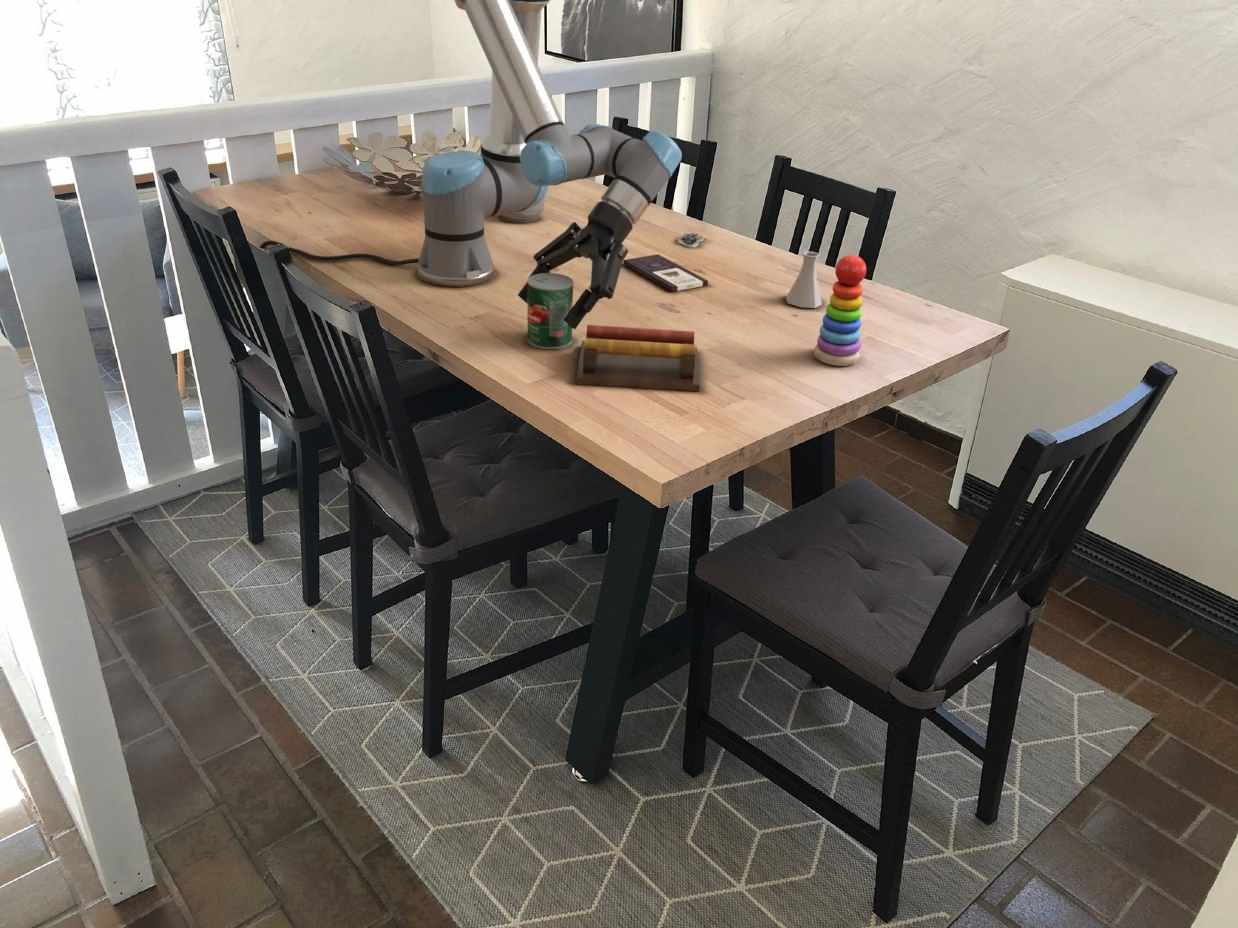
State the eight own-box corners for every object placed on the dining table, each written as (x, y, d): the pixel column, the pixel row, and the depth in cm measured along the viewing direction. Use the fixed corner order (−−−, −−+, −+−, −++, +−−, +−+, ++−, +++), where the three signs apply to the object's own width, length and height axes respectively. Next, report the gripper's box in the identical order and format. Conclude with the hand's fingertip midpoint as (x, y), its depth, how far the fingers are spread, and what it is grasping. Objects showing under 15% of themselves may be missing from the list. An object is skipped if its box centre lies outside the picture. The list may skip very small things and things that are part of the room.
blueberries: (706, 238, 229) (707, 230, 228) (705, 249, 222) (706, 240, 221) (677, 236, 229) (678, 227, 228) (676, 246, 223) (676, 238, 222)
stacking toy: (808, 348, 176) (824, 247, 167) (851, 349, 177) (870, 248, 167) (819, 367, 169) (837, 262, 160) (864, 368, 170) (884, 263, 161)
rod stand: (575, 384, 159) (576, 349, 156) (582, 346, 172) (583, 314, 169) (699, 391, 159) (702, 357, 156) (696, 353, 172) (699, 321, 169)
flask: (824, 299, 198) (832, 251, 193) (818, 311, 192) (827, 262, 187) (789, 293, 200) (796, 245, 195) (782, 305, 194) (789, 256, 189)
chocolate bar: (658, 254, 214) (708, 280, 201) (657, 258, 214) (707, 285, 201) (623, 260, 209) (672, 287, 197) (623, 264, 210) (671, 291, 197)
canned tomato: (580, 339, 175) (582, 280, 169) (554, 353, 169) (555, 292, 163) (544, 328, 178) (545, 269, 173) (517, 341, 172) (517, 281, 167)
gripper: (675, 245, 165) (601, 347, 165) (584, 208, 182) (517, 301, 181) (653, 218, 160) (577, 324, 159) (562, 183, 176) (492, 278, 175)
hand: (545, 312), depth 170 cm, fingers open, 13 cm apart
